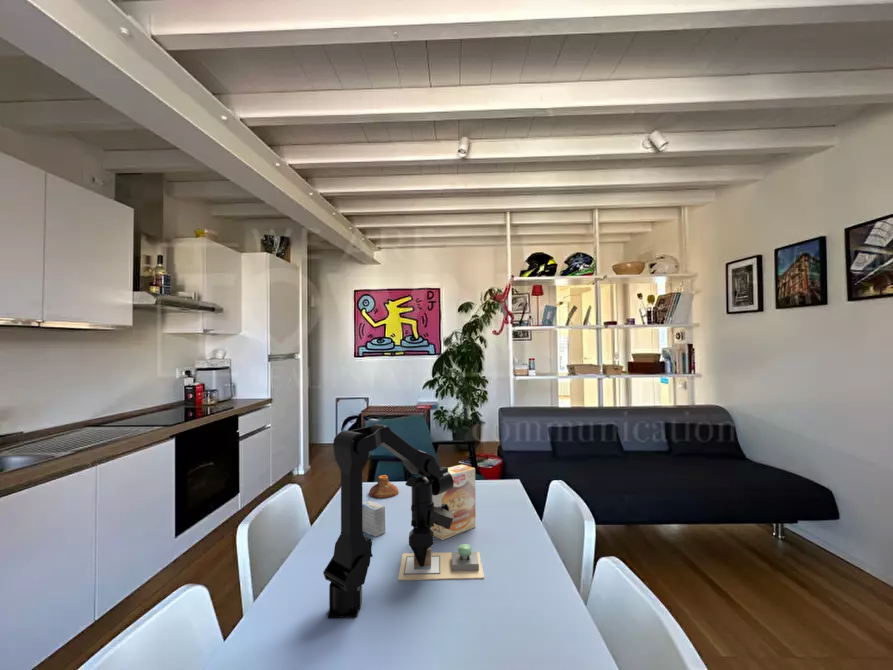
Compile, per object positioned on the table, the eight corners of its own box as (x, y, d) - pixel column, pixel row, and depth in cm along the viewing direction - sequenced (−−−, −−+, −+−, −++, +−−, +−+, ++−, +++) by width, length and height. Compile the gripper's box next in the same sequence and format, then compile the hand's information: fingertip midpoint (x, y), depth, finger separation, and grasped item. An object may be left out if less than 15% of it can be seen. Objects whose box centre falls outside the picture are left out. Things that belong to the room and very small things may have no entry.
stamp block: (414, 569, 115) (413, 550, 116) (414, 560, 120) (414, 542, 120) (430, 568, 115) (430, 549, 116) (431, 560, 120) (431, 542, 120)
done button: (458, 563, 116) (458, 550, 116) (457, 557, 120) (457, 544, 120) (471, 563, 116) (471, 550, 116) (470, 556, 120) (470, 543, 120)
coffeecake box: (442, 540, 133) (441, 476, 134) (428, 533, 139) (427, 472, 139) (476, 527, 143) (476, 467, 144) (462, 520, 148) (461, 463, 149)
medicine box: (385, 533, 139) (385, 505, 140) (374, 537, 136) (374, 509, 136) (370, 526, 145) (370, 500, 145) (359, 530, 141) (359, 503, 142)
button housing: (452, 572, 114) (452, 564, 114) (451, 559, 121) (451, 552, 121) (478, 571, 114) (478, 564, 115) (476, 558, 121) (476, 551, 122)
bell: (373, 489, 184) (373, 471, 184) (401, 489, 183) (401, 472, 183) (365, 498, 172) (365, 480, 173) (395, 499, 171) (394, 480, 171)
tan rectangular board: (398, 580, 111) (398, 578, 111) (402, 554, 125) (402, 552, 125) (484, 578, 111) (484, 576, 111) (478, 552, 125) (478, 551, 125)
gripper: (452, 512, 109) (453, 575, 109) (450, 488, 128) (451, 542, 127) (408, 512, 109) (408, 576, 108) (412, 488, 128) (413, 542, 127)
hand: (422, 557), depth 118 cm, fingers open, 9 cm apart
